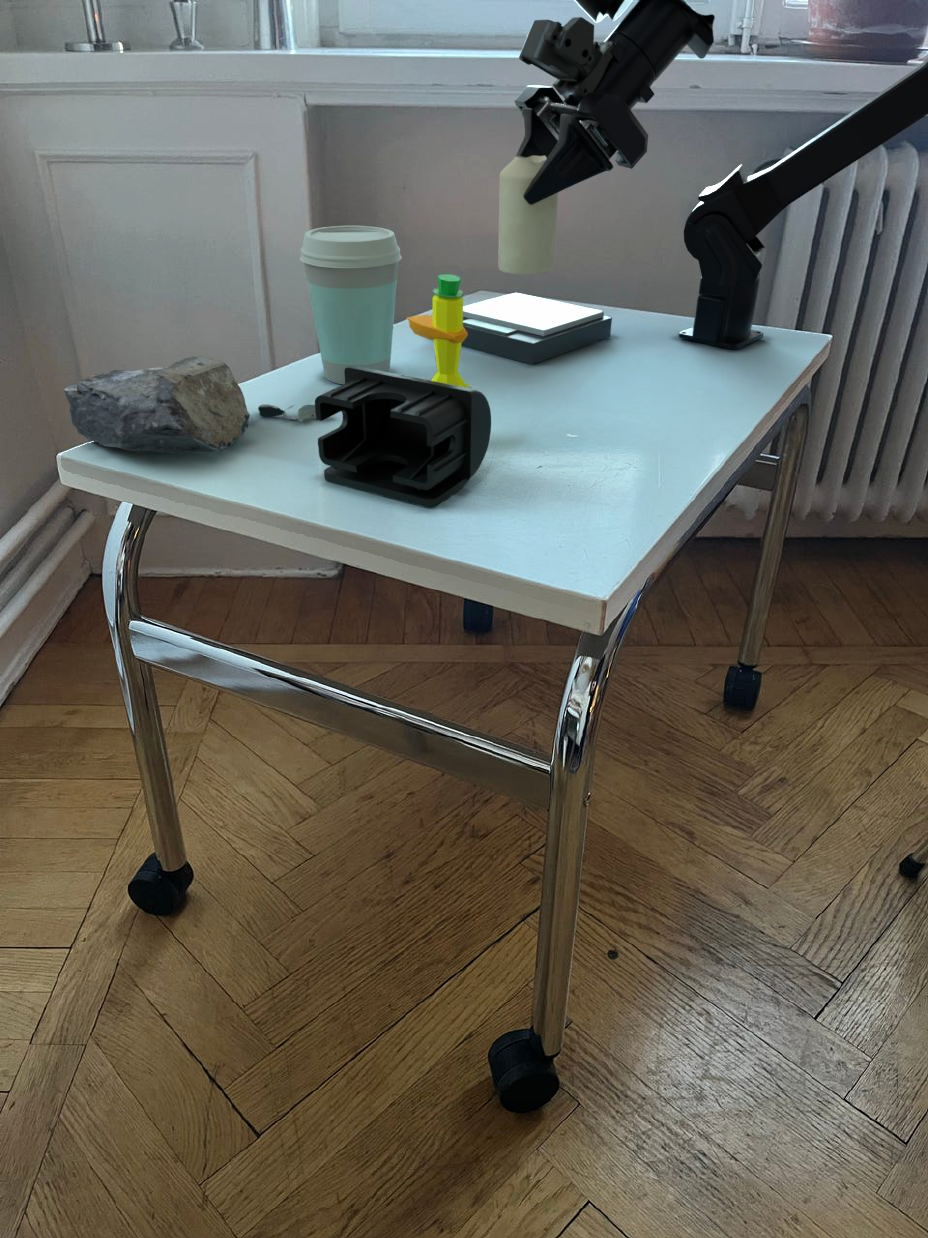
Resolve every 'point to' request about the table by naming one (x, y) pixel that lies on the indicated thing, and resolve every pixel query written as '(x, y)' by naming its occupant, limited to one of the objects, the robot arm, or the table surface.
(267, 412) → the toy
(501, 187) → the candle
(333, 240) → the coffee cup
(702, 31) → the robot arm
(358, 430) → the end cap
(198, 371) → the rock
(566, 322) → the scale
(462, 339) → the toy figure
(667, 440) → the table surface
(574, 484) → the table surface
